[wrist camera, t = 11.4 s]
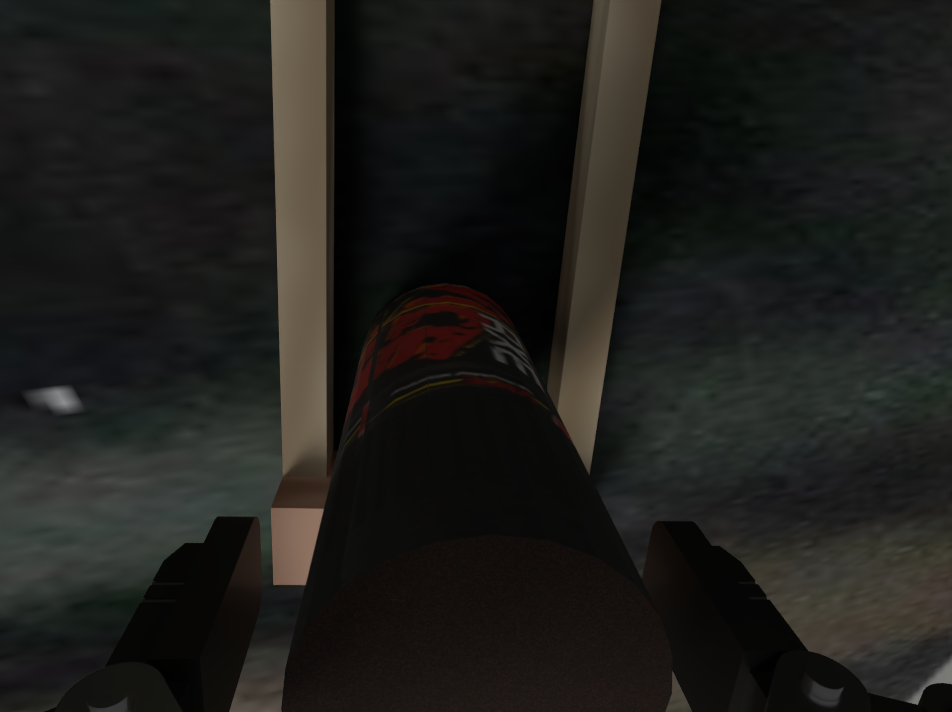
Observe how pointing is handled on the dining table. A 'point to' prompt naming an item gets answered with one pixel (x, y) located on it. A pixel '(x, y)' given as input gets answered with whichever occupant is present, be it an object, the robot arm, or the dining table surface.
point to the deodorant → (467, 539)
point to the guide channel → (312, 244)
